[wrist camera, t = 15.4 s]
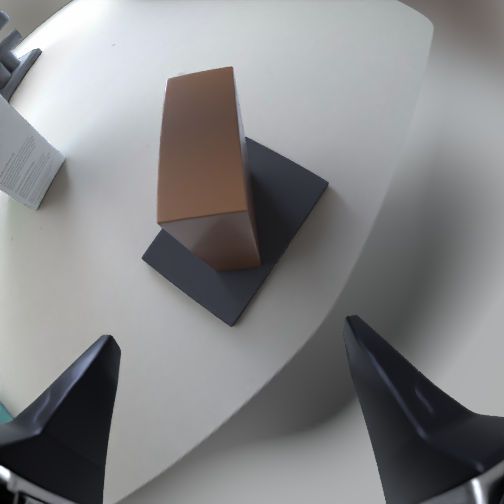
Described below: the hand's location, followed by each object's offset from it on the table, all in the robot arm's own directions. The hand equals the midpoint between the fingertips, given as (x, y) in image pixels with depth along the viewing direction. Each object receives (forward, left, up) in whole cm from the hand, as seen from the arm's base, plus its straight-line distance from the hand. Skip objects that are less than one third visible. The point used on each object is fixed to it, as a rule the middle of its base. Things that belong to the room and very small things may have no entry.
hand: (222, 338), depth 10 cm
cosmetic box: (+27, +1, -9) cm, 28 cm away
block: (+5, -6, -8) cm, 11 cm away
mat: (+5, -6, -8) cm, 11 cm away
